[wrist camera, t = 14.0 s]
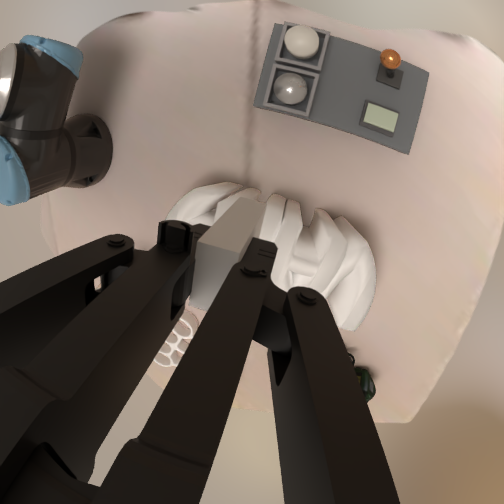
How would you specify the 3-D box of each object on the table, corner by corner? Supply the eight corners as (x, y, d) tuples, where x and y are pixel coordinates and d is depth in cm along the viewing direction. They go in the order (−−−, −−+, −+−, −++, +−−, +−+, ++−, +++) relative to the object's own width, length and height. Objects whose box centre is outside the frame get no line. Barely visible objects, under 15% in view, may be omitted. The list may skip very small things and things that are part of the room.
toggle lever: (380, 80, 34) (377, 61, 26) (383, 64, 33) (381, 43, 25) (397, 86, 33) (399, 68, 25) (400, 70, 32) (403, 50, 24)
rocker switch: (363, 121, 36) (363, 121, 35) (368, 103, 35) (368, 102, 34) (392, 132, 35) (393, 132, 34) (397, 114, 34) (398, 113, 33)
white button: (283, 55, 34) (281, 49, 31) (290, 29, 32) (288, 22, 29) (314, 62, 33) (314, 57, 31) (321, 36, 32) (322, 29, 29)
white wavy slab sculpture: (388, 234, 46) (404, 261, 37) (347, 311, 53) (352, 347, 44) (192, 162, 48) (163, 172, 39) (173, 246, 55) (146, 271, 46)
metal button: (273, 101, 38) (270, 99, 36) (280, 73, 36) (277, 69, 34) (303, 108, 38) (302, 107, 35) (310, 81, 36) (310, 77, 33)
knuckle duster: (193, 374, 69) (143, 342, 68) (226, 333, 61) (167, 295, 61) (188, 383, 66) (137, 350, 65) (221, 343, 58) (160, 304, 58)
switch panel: (256, 107, 42) (249, 104, 37) (277, 29, 36) (272, 17, 31) (402, 153, 40) (413, 156, 36) (422, 75, 34) (435, 69, 29)
